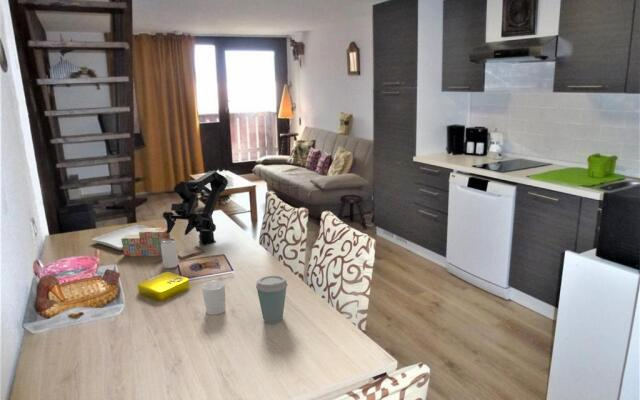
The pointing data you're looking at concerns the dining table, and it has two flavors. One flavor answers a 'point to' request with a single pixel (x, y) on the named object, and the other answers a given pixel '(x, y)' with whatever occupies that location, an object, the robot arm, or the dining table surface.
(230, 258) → the dining table surface
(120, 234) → the square plate
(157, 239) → the stack of blocks
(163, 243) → the can
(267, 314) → the disposable coffee cup
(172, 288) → the element tile
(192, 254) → the tan flat board
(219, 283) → the white cup
